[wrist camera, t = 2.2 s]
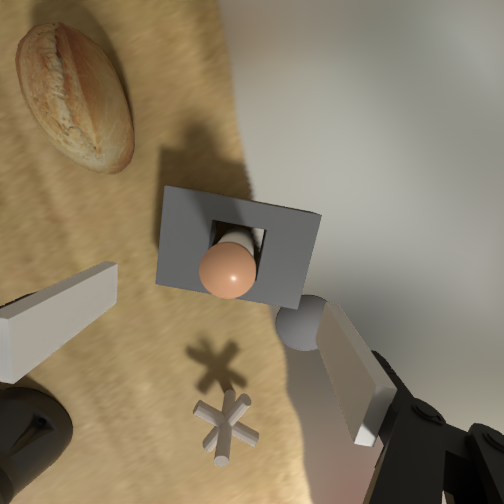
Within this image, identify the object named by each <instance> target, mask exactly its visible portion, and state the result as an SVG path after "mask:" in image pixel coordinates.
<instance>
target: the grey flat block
mask: <svg viewBox="0 0 504 504" xmlns="http://www.w3.org/2000/svg"><path fill="white" fill-rule="evenodd" d="M321 216H322V215H320V214H317V213H314V212H310V211H305V210H299V209H294V208H288V207H284V206H278V205H273V204H268V203H262V202H258V201H252V200H247V199H242V198H237V197H231V196H226V195H221V194H216V193H211V192H205V191H200V190H195V189H190V188H184V187H179V186H168V185H165V187H164V197H163V208H162V219H161V230H160V241H159V252H158V262H157V273H156V284H158V285H164V286H169V287H175V288H180V289H186V290H191V291H197V292H202V293H208V294H212V293H210V292H209V291H208V290H207V289H206V288H205V287H204V286H203V284H202V282H201V280H200V276H199V265H200V262H201V259H202V257H203V256H204V255H205V253H206V252H207V251H208V250H209V249H210V248H211V247H212V246H214V242H215V235H216V229H217V222H218V221H223V222H228V223H233V224H238V225H244V226H249V227H254V228H260V229H264V234H263V239H262V244H261V249H260V254H259V259H258V264H257V269H256V276H255V281H254V283H253V285H252V287H251V288H250V289H249V290H248V291H247V292H246V293H245V294H243V295H241V296H239V297H236V299H241V300H247V301H252V302H258V303H264V304H269V305H275V306H280V307H286V308H291V309H297V310H298V306H299V302H300V298H301V294H302V290H303V286H304V282H305V279H306V275H307V271H308V267H309V263H310V259H311V255H312V251H313V248H314V244H315V240H316V236H317V232H318V228H319V224H320V220H321Z"/></svg>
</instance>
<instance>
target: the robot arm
mask: <svg viewBox="0 0 504 504" xmlns="http://www.w3.org/2000/svg"><path fill="white" fill-rule="evenodd" d="M117 277H118V263H114V262H109V261H105V262H102V263H100V264H98V265H96V266H94V267H91V268H89V269H87V270H85V271H83V272H80V273H78V274H76V275H74V276H72V277H69V278H67V279H65V280H63V281H61V282H58V283H56V284H54V285H52V286H50V287H47V288H45V289H43V290H41V291H38V292H34V293H30V294H27V295H24V296H22V297H20V298H18V299H15V301H11V302H9V303H6V304H5V305H2V306H0V382H6V383H11V384H14V383H15V382H17V381H18V380H19V379H21V378H22V377H23V376H24V375H26V374H27V373H28V372H29V371H31V370H32V369H33V368H35V367H36V366H37V365H38V364H40V363H41V362H42V361H43V360H45V359H46V358H47V357H49V356H50V355H51V354H52V353H54V352H55V351H56V350H57V349H59V348H60V347H61V346H63V345H64V344H65V343H66V342H68V341H69V340H70V339H71V338H73V337H74V336H75V335H77V334H78V333H79V332H80V331H82V330H83V329H84V328H85V327H87V326H88V325H89V324H91V323H92V322H93V321H94V320H96V319H97V318H98V317H99V316H101V315H102V314H103V313H105V312H106V311H107V310H108V309H110V308H111V307H112V306H113V305H115V304H116V299H117ZM315 341H316V344H317V346H318V349H319V351H320V354H321V357H322V359H323V362H324V365H325V367H326V370H327V373H328V375H329V378H330V381H331V383H332V386H333V389H334V391H335V394H336V397H337V399H338V402H339V405H340V407H341V410H342V413H343V415H344V418H345V421H346V423H347V426H348V429H349V431H350V434H351V437H352V439H353V441H354V444H360V445H366V446H372V447H373V446H374V444H375V442H376V439H377V437H378V435H379V437H380V439H381V441H382V442H383V445H384V447H383V449H382V451H381V454H380V456H379V458H378V461H377V463H376V465H375V471H374V473H373V476H372V479H371V482H370V484H369V488H368V490H367V493H366V496H365V498H364V502H363V504H442V492H443V491H444V494H445V499H446V503H447V504H504V435H502V433H500V432H499V431H497V430H494V429H492V428H490V427H489V426H486V425H483V424H479V423H474V424H473V425H471V427H470V429H469V431H468V432H466V431H464V430H461V429H459V428H456V427H454V426H451V425H449V424H447V423H446V421H445V420H444V418H443V417H442V415H441V414H440V413H439V412H438V411H437V410H436V409H435V408H433V407H432V406H430V405H429V404H427V403H426V402H424V401H422V400H420V399H417V398H414V397H413V395H412V394H411V393H410V391H409V390H408V389H407V387H406V386H405V385H404V383H403V382H402V381H401V379H400V378H399V377H398V376H397V375H396V373H395V372H394V370H393V369H391V366H390V365H389V363H388V362H387V361H386V359H385V358H383V357H382V356H381V355H380V354H379V353H377V352H376V351H372V350H370V349H369V348H368V346H367V345H366V344H365V342H364V341H363V339H362V338H361V336H360V335H359V334H358V332H357V331H356V329H355V328H354V326H353V325H352V323H351V322H350V321H349V319H348V318H347V316H346V315H345V313H344V312H343V311H342V309H341V308H340V306H339V305H338V304H335V303H330V302H326V303H325V307H324V310H323V314H322V317H321V321H320V324H319V327H318V331H317V334H316V338H315ZM72 434H73V429H72V423H71V421H70V418H69V416H68V415H67V413H66V412H65V410H64V409H63V408H62V407H61V406H60V405H59V404H58V403H57V402H56V401H55V400H53V399H52V398H50V397H49V396H47V395H45V394H43V393H41V392H38V391H35V390H31V389H27V388H8V389H4V390H1V391H0V504H9V503H10V502H11V500H12V499H13V498H14V497H15V496H16V495H17V494H18V493H19V492H20V491H21V490H22V489H24V488H25V487H26V486H27V485H28V484H29V483H31V482H32V481H33V480H34V479H35V478H37V477H38V476H39V475H40V474H41V473H42V472H43V471H45V470H46V469H47V468H48V467H49V466H51V465H52V464H53V463H54V462H55V461H56V460H57V459H58V458H59V457H60V456H61V454H62V453H63V452H64V450H65V449H66V447H67V446H68V445H69V443H70V441H71V439H72Z"/></svg>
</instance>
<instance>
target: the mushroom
mask: <svg viewBox="0 0 504 504" xmlns="http://www.w3.org/2000/svg"><path fill="white" fill-rule="evenodd" d="M253 253H254V239H253V237H252V235H251V233H250V232H249V231H247V230H246V229H244V228H240V227H235V228H232V229H230V230H228V231H227V232H226V233H225V234H224V236H223V237H222V238H221V239H220V241H219V242H218V243H217V244H216V245H214V246H212V247H211V248H210V249H209V250H208V251H207V252H206V253H205V255H204V256H203V257H202V259H201V262H200V265H199V276H200V280H201V282H202V284H203V286H204V287H205V288H206V289H207V290H208V291H209V292H210V293H212V294H213V295H215V296H217V297H220V298H226V299H230V298H236V297H239V296H241V295H243V294H245V293H246V292H247V291H248V290H249V289H250V288H251V287H252V285H253V283H254V281H255V276H256V264H255V260H254V257H253Z"/></svg>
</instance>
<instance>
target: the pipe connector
mask: <svg viewBox="0 0 504 504" xmlns="http://www.w3.org/2000/svg"><path fill="white" fill-rule="evenodd" d="M235 397H236V393H235V391H233V390H231V389H230V390H227V391H225V395H224V401H223V407H222V412H220V411H219V410H217V409H215V408H213V407H212V406H210V405H208V404H206V403H204V402H203V401H201V400H199V401H198V402H197V404H196V406H195V408H194V410H193V414H194V415H196V416H198V417H200V418H202V419H204V420H205V421H207V422H209V423H211V424H213V425H214V426H215V427H214V428H213V429H212V430H211V432H210V433H209V434H208V435H207V436H206V438H205V439H204V441H203V447H204V449H205V450H206V451H208V452H210V451H212V450H213V449H214V448H215V446H216V451H215V458H214V463H215V464H216V465H217V466H219V467H225V466H227V465H228V463H229V455H230V446H231V436H232V435H233V436H235V437H236V438H238V439H240V440H242V441H244V442H246V443H247V444H249V445H251V446H253V447H254V446H256V444H257V442H258V439H259V433H258V432H256V431H255V430H253V429H251V428H249V427H247V426H246V425H244V424H242V423H240V422H238V421H237V420H238V419H239V418H240V417H241V416H242V415H243V413H244V412H245V411H246V410H247V409H248V408H249V406H250V405H251V399H250V397H249V396H248V395H247V394H244V393H243V394H241V395H240V396H239V398H238V399H237V400H236V401H235Z"/></svg>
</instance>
